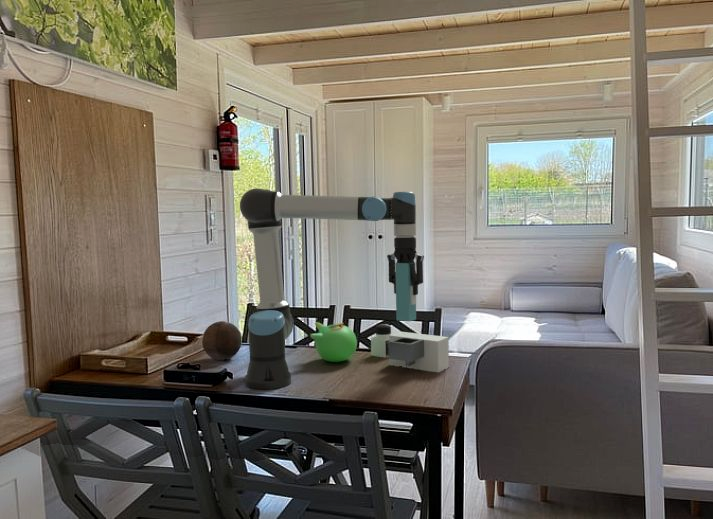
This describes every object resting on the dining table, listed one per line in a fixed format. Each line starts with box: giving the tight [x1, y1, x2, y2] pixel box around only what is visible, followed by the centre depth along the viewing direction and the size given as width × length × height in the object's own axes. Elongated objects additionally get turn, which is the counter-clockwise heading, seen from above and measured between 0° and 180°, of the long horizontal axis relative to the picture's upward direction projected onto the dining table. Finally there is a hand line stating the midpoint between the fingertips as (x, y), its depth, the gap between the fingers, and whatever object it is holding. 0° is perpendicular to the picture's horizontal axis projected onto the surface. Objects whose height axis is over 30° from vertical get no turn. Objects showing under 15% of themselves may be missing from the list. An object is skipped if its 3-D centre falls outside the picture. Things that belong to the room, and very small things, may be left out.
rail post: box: [395, 261, 417, 323], centre depth 203 cm, size 5×5×20 cm
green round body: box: [309, 321, 358, 363], centre depth 222 cm, size 18×17×15 cm
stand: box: [388, 331, 450, 373], centre depth 212 cm, size 20×8×11 cm, turn 54°
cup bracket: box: [388, 337, 424, 366], centre depth 205 cm, size 9×9×9 cm
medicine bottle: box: [370, 323, 392, 359], centre depth 229 cm, size 7×7×12 cm
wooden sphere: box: [201, 320, 243, 361], centre depth 228 cm, size 15×15×15 cm
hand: (406, 303), depth 203 cm, fingers closed on rail post, 5 cm apart
